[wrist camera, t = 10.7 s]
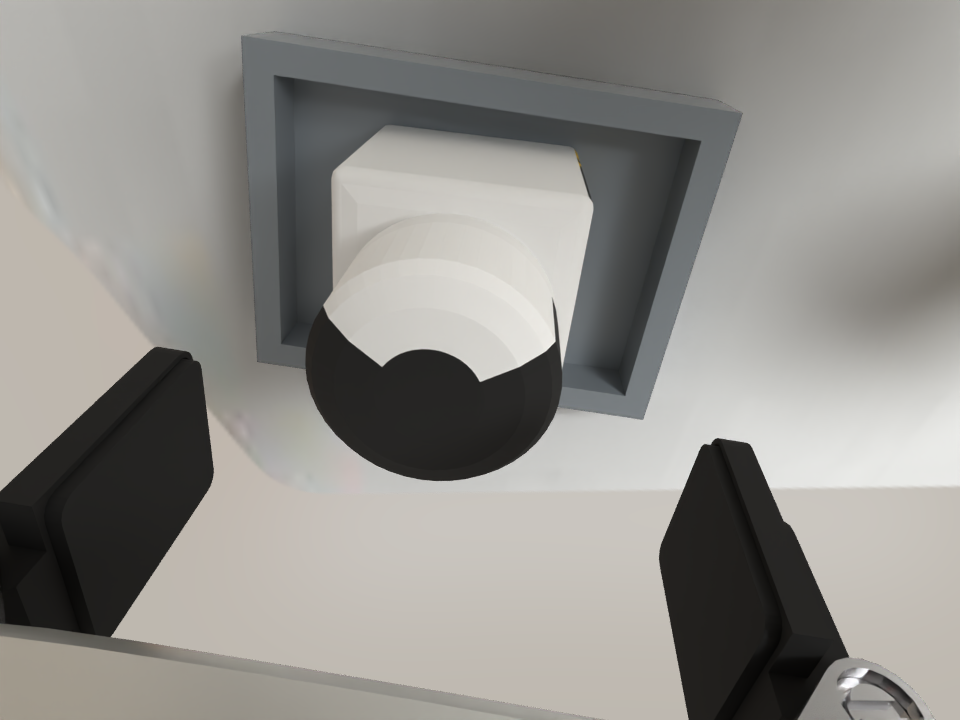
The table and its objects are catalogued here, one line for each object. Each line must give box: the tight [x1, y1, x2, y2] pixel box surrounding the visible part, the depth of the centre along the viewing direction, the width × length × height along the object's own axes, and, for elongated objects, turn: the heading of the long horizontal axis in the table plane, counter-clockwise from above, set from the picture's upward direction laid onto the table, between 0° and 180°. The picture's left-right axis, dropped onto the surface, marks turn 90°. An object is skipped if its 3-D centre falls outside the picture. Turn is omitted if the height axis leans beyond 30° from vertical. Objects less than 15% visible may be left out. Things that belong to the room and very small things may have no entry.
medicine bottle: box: [305, 125, 593, 481], centre depth 19 cm, size 7×7×12 cm
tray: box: [241, 31, 742, 420], centre depth 24 cm, size 16×12×3 cm
